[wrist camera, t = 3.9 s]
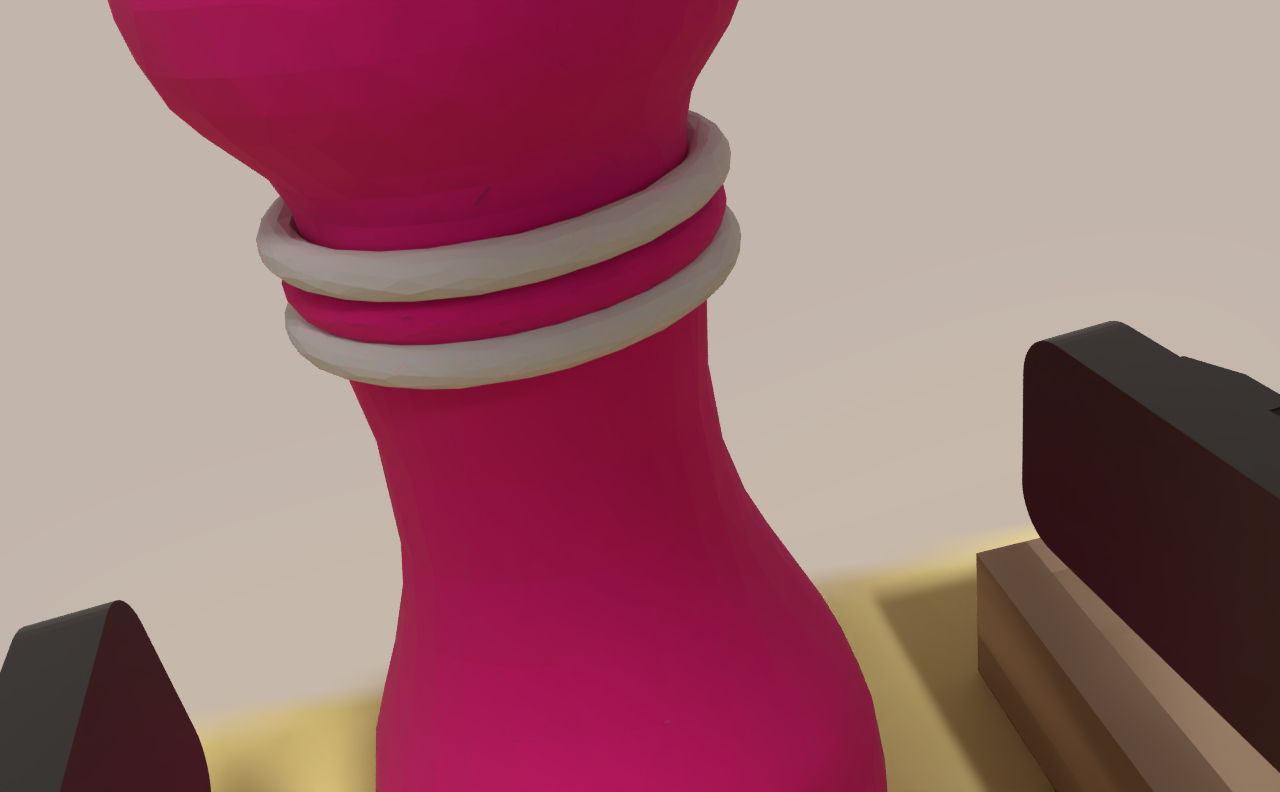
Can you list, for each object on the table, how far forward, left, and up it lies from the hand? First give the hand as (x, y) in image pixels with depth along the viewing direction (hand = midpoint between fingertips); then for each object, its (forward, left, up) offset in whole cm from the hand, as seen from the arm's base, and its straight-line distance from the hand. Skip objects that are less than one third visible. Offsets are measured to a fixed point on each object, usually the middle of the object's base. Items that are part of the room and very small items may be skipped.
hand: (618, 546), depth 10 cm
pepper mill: (+2, -3, -11) cm, 12 cm away
